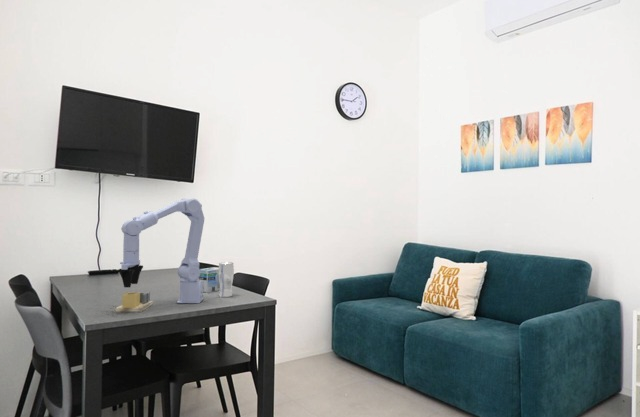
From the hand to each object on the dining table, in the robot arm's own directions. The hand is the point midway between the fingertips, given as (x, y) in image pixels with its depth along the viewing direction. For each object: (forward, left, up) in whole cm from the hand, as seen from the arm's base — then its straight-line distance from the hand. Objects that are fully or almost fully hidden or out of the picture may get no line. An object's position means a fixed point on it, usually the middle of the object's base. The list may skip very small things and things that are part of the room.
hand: (130, 285), depth 172 cm
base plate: (0, -3, -9) cm, 10 cm away
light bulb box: (-24, -39, -10) cm, 47 cm away
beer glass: (-33, -26, -10) cm, 43 cm away
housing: (0, -6, -8) cm, 10 cm away
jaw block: (0, 0, -8) cm, 8 cm away
